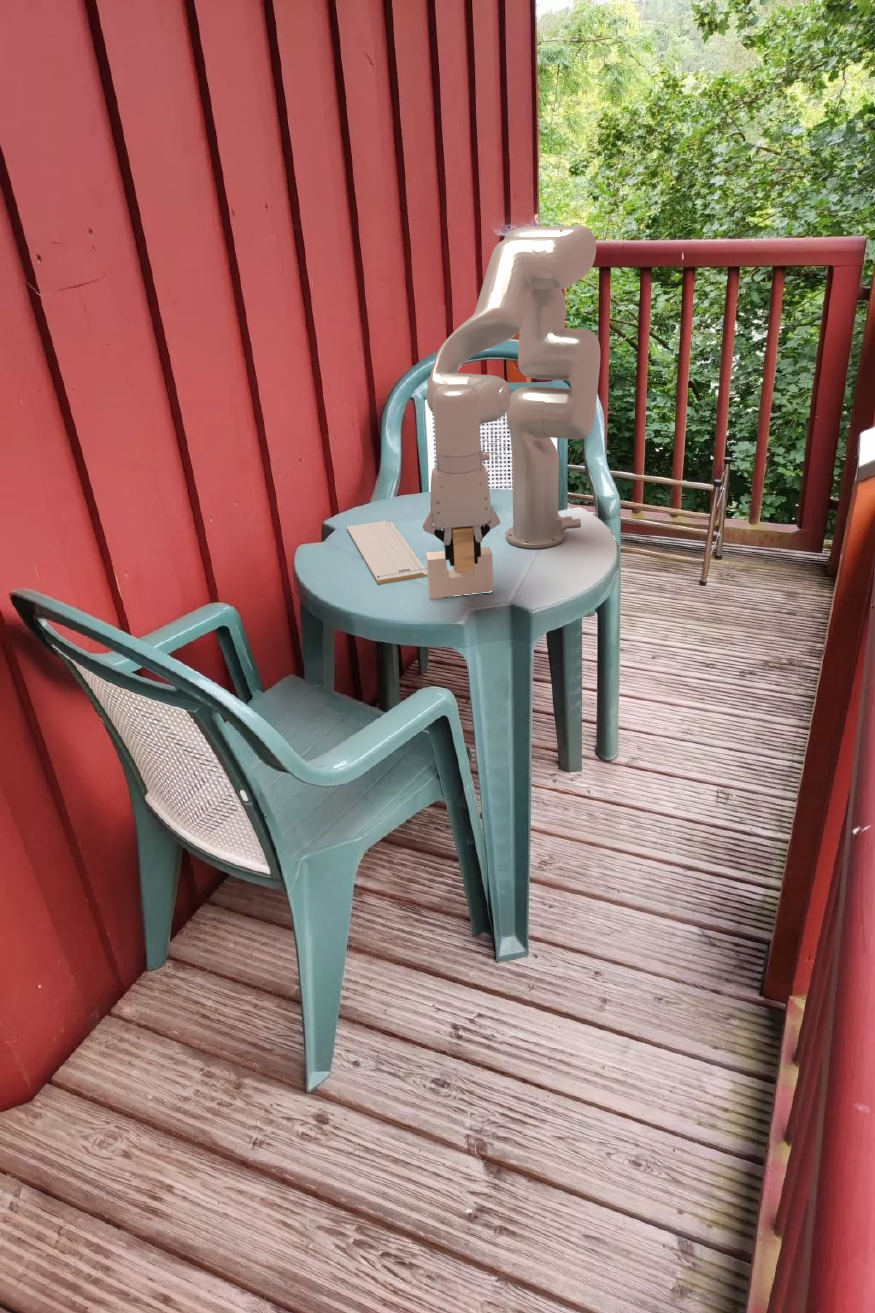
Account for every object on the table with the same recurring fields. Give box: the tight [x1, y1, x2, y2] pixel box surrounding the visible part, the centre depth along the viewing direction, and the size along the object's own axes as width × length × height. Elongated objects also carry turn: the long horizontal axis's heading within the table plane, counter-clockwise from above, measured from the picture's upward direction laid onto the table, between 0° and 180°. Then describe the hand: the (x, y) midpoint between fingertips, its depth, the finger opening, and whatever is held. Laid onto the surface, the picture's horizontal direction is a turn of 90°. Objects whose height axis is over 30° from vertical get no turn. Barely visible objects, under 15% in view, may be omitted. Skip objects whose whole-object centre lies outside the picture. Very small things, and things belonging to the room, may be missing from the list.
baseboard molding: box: [346, 519, 428, 585], centre depth 190 cm, size 31×3×12 cm
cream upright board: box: [425, 546, 494, 600], centre depth 169 cm, size 12×4×8 cm, turn 96°
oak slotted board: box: [451, 527, 475, 573], centre depth 165 cm, size 18×4×8 cm, turn 6°
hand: (463, 560), depth 160 cm, fingers closed on oak slotted board, 3 cm apart
